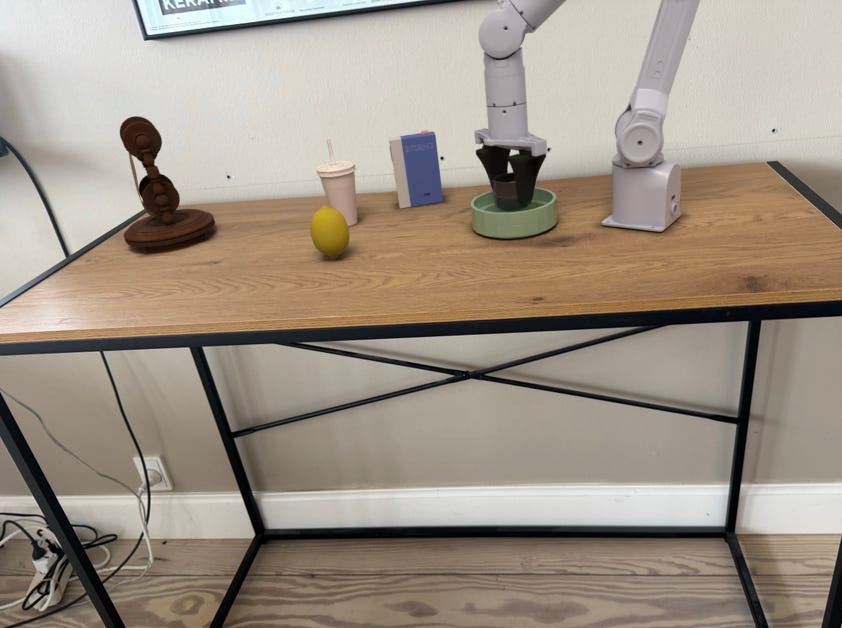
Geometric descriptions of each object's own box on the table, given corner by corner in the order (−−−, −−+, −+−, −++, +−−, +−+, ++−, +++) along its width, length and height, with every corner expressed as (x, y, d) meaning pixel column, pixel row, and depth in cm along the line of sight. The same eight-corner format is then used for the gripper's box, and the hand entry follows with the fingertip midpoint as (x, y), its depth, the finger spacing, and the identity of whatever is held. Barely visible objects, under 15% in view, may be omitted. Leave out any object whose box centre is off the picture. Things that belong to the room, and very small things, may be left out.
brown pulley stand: (125, 238, 123) (83, 121, 113) (210, 219, 128) (176, 105, 118) (131, 262, 111) (85, 134, 101) (224, 240, 116) (189, 116, 106)
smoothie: (320, 228, 116) (302, 143, 110) (340, 216, 121) (324, 134, 115) (353, 230, 114) (337, 143, 107) (372, 217, 119) (357, 133, 112)
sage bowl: (572, 217, 109) (571, 190, 107) (529, 245, 100) (528, 217, 98) (501, 209, 116) (500, 184, 114) (456, 235, 107) (453, 208, 105)
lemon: (360, 251, 105) (350, 199, 101) (342, 266, 100) (331, 212, 96) (328, 250, 107) (317, 199, 103) (309, 264, 102) (297, 212, 98)
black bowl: (538, 202, 107) (537, 173, 104) (519, 213, 103) (517, 184, 101) (507, 198, 110) (505, 170, 107) (487, 209, 106) (485, 181, 104)
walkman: (441, 197, 125) (433, 129, 119) (443, 202, 123) (435, 132, 117) (398, 204, 124) (387, 135, 118) (399, 208, 122) (388, 138, 116)
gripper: (454, 104, 102) (464, 194, 109) (516, 113, 92) (522, 213, 98) (492, 95, 106) (499, 184, 112) (556, 103, 95) (559, 200, 102)
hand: (512, 197), depth 106 cm, fingers closed on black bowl, 6 cm apart
